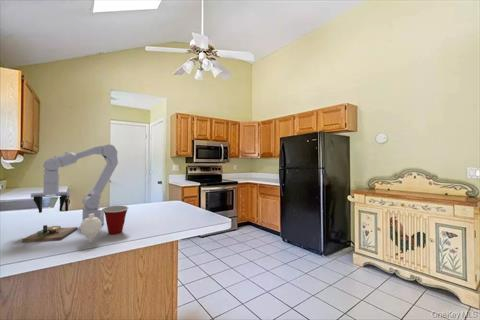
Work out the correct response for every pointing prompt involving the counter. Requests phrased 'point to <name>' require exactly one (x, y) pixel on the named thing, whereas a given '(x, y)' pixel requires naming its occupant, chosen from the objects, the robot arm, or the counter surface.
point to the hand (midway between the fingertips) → (50, 211)
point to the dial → (50, 228)
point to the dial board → (50, 235)
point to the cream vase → (91, 227)
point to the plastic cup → (115, 218)
